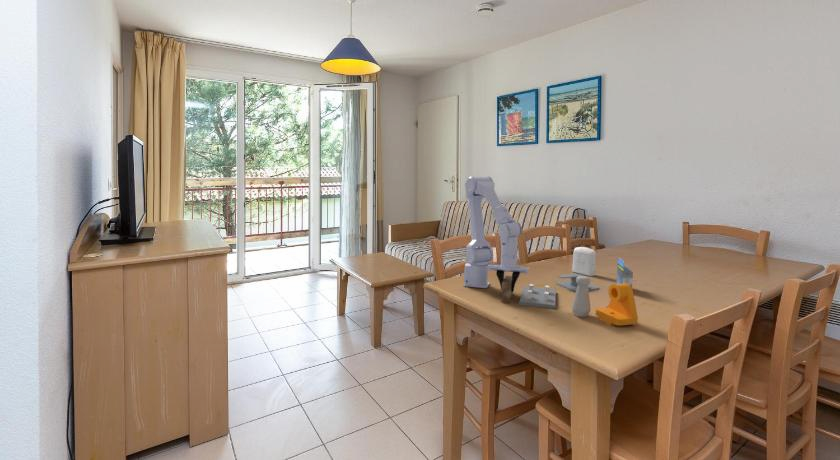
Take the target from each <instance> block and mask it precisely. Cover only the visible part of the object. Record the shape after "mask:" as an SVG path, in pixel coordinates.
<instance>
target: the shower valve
mask: <svg viewBox="0 0 840 460" xmlns="http://www.w3.org/2000/svg"><path fill="white" fill-rule="evenodd" d="M578 276H584V274H580V273H569V274H560V275H557V277H558V278H561V279H570V280H569V281H568V280H567V281H557V282H555V285H558V286H560V287H562V288H563V289H564V288H565V289H566V290H569V291H572V292H575V293H576V290H577V286H578V283H576V278H577V277H578ZM599 289H600V287H598V286H596V285H594V284H591V283H590V284H589V285H588V290H589V291H595V290H599Z"/></svg>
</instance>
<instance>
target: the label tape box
mask: <svg viewBox="0 0 840 460" xmlns="http://www.w3.org/2000/svg"><path fill="white" fill-rule="evenodd" d="M616 273H617V274H616V275H617V276H616V284H625V283H627V284H629V285H630V286H631V287H632V288H633V281H634V280H633V278H634V277H633V276H634V272H633V271H632V270H631V269H630V268H628V267H627V266H625V261H624V260H623V259H622V258H621V257H618V260H617V271H616Z"/></svg>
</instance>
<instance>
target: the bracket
mask: <svg viewBox="0 0 840 460" xmlns="http://www.w3.org/2000/svg"><path fill="white" fill-rule="evenodd" d="M608 296H609V298H610V301H609V303H608V306H607V307H597V308H595V315H596V316H598V318H599V320H601V321H603V322H605V323H606V324H608V325H610V326H629V325H638V322H639V319H638V318H639V317H638V312H637V306H636V301H635V300H636V299H635V295H634V290H633V286H632V287H631V286H630V285H629V284H627V283H625V284H617V283H612V284H611V285H609V287H608Z"/></svg>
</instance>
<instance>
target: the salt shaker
mask: <svg viewBox="0 0 840 460" xmlns="http://www.w3.org/2000/svg"><path fill="white" fill-rule="evenodd" d="M576 283H578V286H577V290H576V292H575V294H574V298H573V302H572V305H571V311H572V312H573V315H574V316H576V317H577V318H587V317H589V315H590V313H591V301H590V299H591V298H590V290H588V285H589V284H591V278H590V276H588V275H583V276H578V277H577V278H576Z"/></svg>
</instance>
